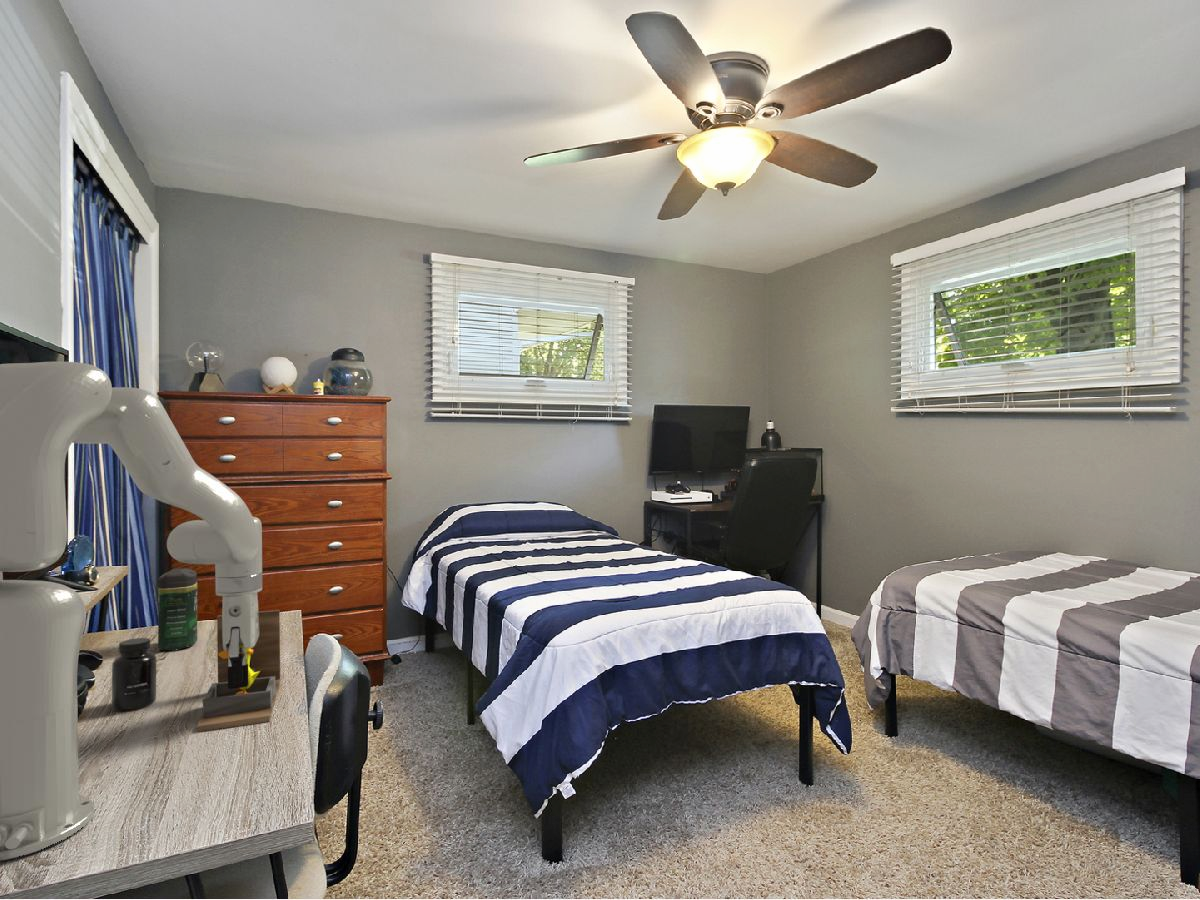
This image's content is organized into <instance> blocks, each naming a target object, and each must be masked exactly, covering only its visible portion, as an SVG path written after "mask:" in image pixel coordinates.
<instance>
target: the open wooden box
mask: <svg viewBox="0 0 1200 900" xmlns="http://www.w3.org/2000/svg"><path fill="white" fill-rule="evenodd" d="M280 611H281V610H280V609H271V610H261V611H259V610H258V615H259V637H258V640H257V642H256V644H255V646H254V647H253V648H252V649H253V654H251V656H250V657H252V671H253V672H258V671H260V672H259V674H258V675H257V677H256V678H255V680H254V681H253V683H252V684H251V686H250V687H249V688H248V689H246V692H247V693H244V694H236V693H238V692H242V689H240V688H234V689H229V688H228V659H223V658H222V657H220V656H219V655H218V654H219V653H220V652H222V651H225V650H224V649H223V639H222V614H218V615H216V624H217V626H216V629H217V630H216V631H217V632H216V633H217V638H216V639H217V641H216V642H217V643H216V644H217V682H213V683H212V684H211V685H210V687H209V689H208V691H207V692H206V693H205V696H204V697H203V699H202V716H201V719H200V720H199V722H198V724H197V725H196V726H197V728H196V729H197V733H200V732H199V731H201V732H206V731H205V730H207V731H213V729H214V730H219V728H221V729H226V728H225V727H228V728H234V727H233V726H235V727H239V726H247V725H255V724H260V723H261V722H262V723H267V721H269V722H270V721H271V717H272V715H273V710H274V708H273V707H275V703H276V700H277V697H278V693H279V689H280V686H281V619H280V618H281V617H280V616H281V615H280V613H281V612H280ZM235 694H236V695H235ZM271 714H272V715H271ZM230 726H231V727H230Z"/></svg>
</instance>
